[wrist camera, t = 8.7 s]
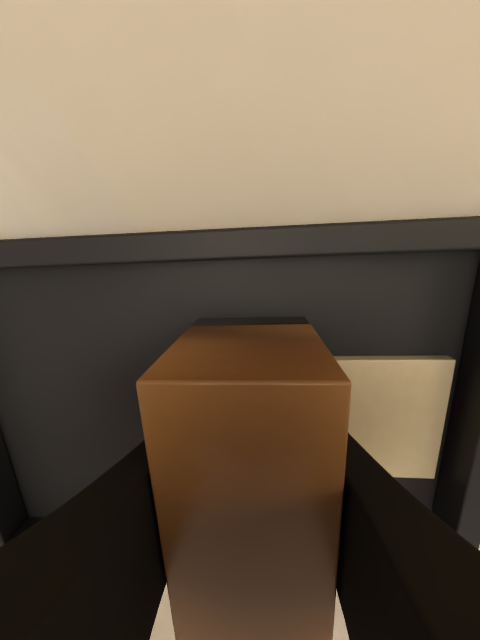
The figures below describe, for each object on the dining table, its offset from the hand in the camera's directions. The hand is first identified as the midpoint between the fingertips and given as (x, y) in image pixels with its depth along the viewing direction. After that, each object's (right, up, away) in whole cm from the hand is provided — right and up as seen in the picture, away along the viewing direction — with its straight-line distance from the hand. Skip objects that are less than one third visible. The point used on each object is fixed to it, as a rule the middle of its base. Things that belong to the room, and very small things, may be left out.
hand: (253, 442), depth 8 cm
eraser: (0, 0, +1) cm, 2 cm away
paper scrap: (+4, 0, +1) cm, 4 cm away
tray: (-2, 0, +2) cm, 3 cm away
